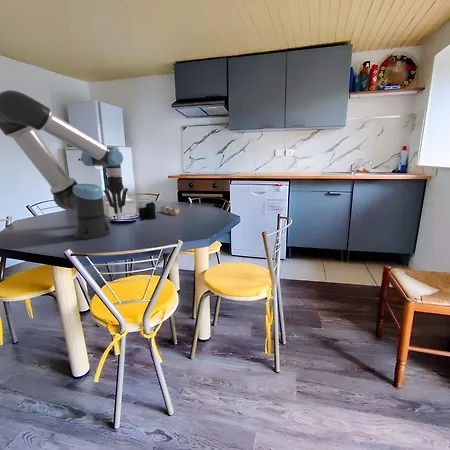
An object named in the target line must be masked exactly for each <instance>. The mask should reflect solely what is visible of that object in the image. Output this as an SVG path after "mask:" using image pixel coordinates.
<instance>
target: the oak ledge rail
mask: <svg viewBox="0 0 450 450" xmlns="http://www.w3.org/2000/svg"><path fill="white" fill-rule="evenodd" d="M160 212H161V213H163V214H164V213H165V214H169V215H172V216H176V217H177V216H180V209H179V208H175V206H173V207H170V206H167V205H165V204H164V205H162V206H160Z"/></svg>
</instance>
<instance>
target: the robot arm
mask: <svg viewBox="0 0 450 450" xmlns="http://www.w3.org/2000/svg"><path fill="white" fill-rule="evenodd" d="M0 130H1V131H2V133H3V134H4V136H6V137H10V138H12V139H13V140H14V141H15V142H16V144H17V145H18V146H19V148H20V150H22V151H23V153H24V154H25V156H26V157H27V158H28V159H29V160H30V162H31V163H32V165H34V167H35V168H36V169H37V171H38V172H39V173H40V175H41V176H42V177H43V179H44V180H45V181H46V182H47V183H48V185H49V186H50V190H49V191H50V192H51V195H53V197H52V198H53V201H54V204H56V206H57V207H59V208H60V209H63V210H66V211H73V212H75V214H76V226H75V230H74V238H75V239H77V240H95V239H101V238H105V237H108V236H110V235H111V234H112V232H111V228H110V225H109V223H108V221H107V220H106V219H107V218H106V216H105V214H104V205H103V196H104V195H105V194H106V197H107V199H108V202H109V205H110V207H113V208H114V213H115V214H116V216H115V217H116V220H118V221H119V220H122V216H121V213H122V206H125V200H126V194H127V192H128V191H129V188H127V187H125V186H124V184H123V177H122V174H123V173H122V165H121V164H122V163H123V161H124V156H123V153H122V152H121V151H120V150H119V147H118V146H106V145H105V144H103V143H102V142H100V141H98V140H97V139H95V138H93V137H91V136H90V135H89V134H87V133H85V132H83V131H82V130H80V129H78V128H77V127H75V126H74V125H72V124H71V123H69V122H67V121H66V120H64V119H62V118H60V117H59V116H57V115H55V114H54V113H53V112H52V111H51V109H50V108H49V107H47V106H46V105H45V104H42V103H41V102H40V101H38V100H36V99H34V98H32V97H31V96H29V95H26V94H25V93H23V92H20V91H18V90H13V89H11V90H4V91H2V92H0ZM37 131H44V132H45V133H47V134H48V135H51V136H53V137H55V138H56V139H58V140H60V141H62V142H63V143H66V144H67V145H69V146H71V147H73V148H75V149H77V150H79V151H80V152H81V156H80V157H81V162H82V164H83V165H84V166H86V167H105V170H106V176H107V178H106V180H107V188H106V189H104V190H103V191H102V188H101V186H100V185H98V184H94V183H79V182H77V180H76V179H75V177H70V176H69V175H68V174H67V173H66V171H65V170H64V168H63V166H61V164H60V163H59V162H58V160H57V159H56V157H55V156H54V154H53V153H52V151H50V148H48V146H47V145H46V143H45V142H44V141H43V140H42V138H41V137H40V135H39V134H38V133H37ZM110 192H111V193H112V199H113V202H112V200H111V197H110V194H109V193H110ZM103 193H104V194H103ZM121 193H122V201H121ZM116 194H117V200H116ZM117 201H118V207H117Z"/></svg>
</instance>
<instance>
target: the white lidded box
mask: <svg viewBox="0 0 450 450" xmlns="http://www.w3.org/2000/svg"><path fill="white" fill-rule="evenodd" d="M122 193H123V192H121V201H122ZM109 194H110V197H111V200H112V202H113V199H112V193H111V192H110V191H109ZM116 200H117V194H116ZM103 205H104V214H105V218H106V217H107V218H114V217H113V216H115V217H116V214H115V213H114V208H113V207H110V205H109V202H108V199H107V197H106V194H105V193H104V194H103ZM117 207H118V201H117ZM126 214H129V215H134V214H137V206H136V199H133V198H129V196H128V194H127V193H126V200H125V206H122V213H121V215H122V216H126Z"/></svg>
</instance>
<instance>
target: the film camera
mask: <svg viewBox="0 0 450 450" xmlns="http://www.w3.org/2000/svg"><path fill="white" fill-rule="evenodd" d="M138 217H143V218H142V219H150V220H156V219H157V215H156V203H155V202H154V201H153V202H147V203H146V204H145V206H144V207H143V206H142V207H138Z"/></svg>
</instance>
